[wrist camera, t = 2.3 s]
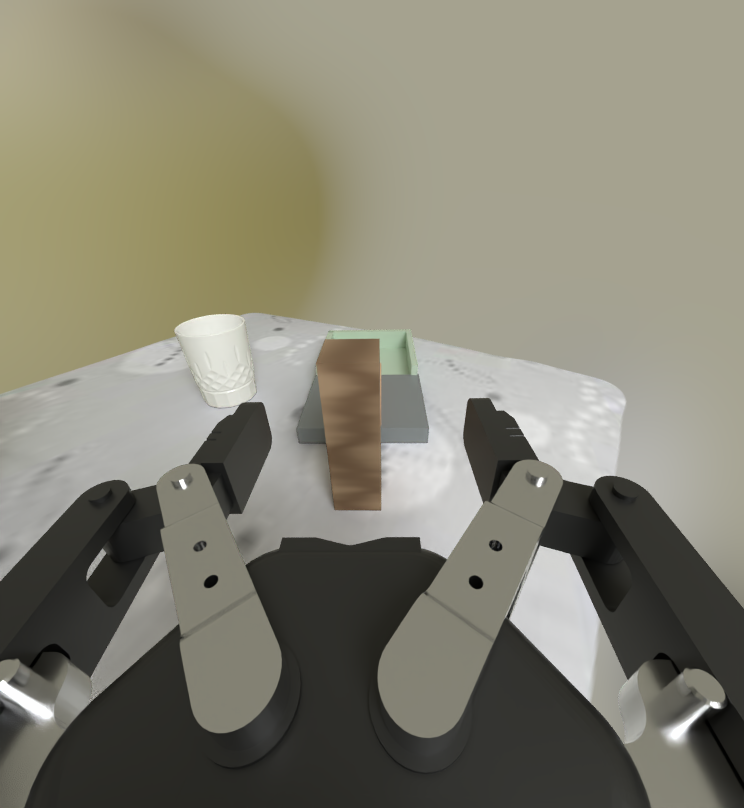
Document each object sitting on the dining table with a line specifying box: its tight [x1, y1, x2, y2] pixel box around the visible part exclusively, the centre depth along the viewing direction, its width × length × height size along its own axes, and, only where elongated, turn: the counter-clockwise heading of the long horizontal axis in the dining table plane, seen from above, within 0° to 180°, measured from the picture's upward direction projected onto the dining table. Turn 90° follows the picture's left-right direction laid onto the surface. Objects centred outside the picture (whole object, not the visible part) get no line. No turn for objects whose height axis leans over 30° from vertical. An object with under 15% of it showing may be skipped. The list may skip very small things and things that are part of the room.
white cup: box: [174, 314, 256, 408], centre depth 43 cm, size 8×8×10 cm
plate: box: [297, 374, 429, 443], centre depth 41 cm, size 14×12×2 cm
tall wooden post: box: [316, 339, 381, 510], centre depth 26 cm, size 4×4×14 cm
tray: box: [316, 330, 418, 376], centre depth 51 cm, size 14×13×4 cm
